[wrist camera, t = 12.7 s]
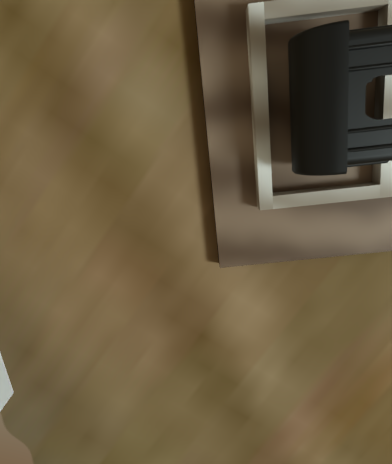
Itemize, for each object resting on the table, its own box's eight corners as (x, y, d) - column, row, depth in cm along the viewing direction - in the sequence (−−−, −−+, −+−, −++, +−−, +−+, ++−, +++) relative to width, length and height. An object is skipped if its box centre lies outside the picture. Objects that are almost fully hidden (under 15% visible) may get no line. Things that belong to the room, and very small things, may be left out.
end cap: (277, 49, 28) (301, 24, 22) (363, 38, 28) (413, 10, 22) (282, 169, 31) (304, 179, 25) (360, 161, 31) (403, 168, 24)
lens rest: (188, -61, 27) (187, -81, 25) (442, -95, 26) (468, -119, 24) (219, 263, 35) (220, 273, 32) (415, 243, 34) (433, 253, 32)
